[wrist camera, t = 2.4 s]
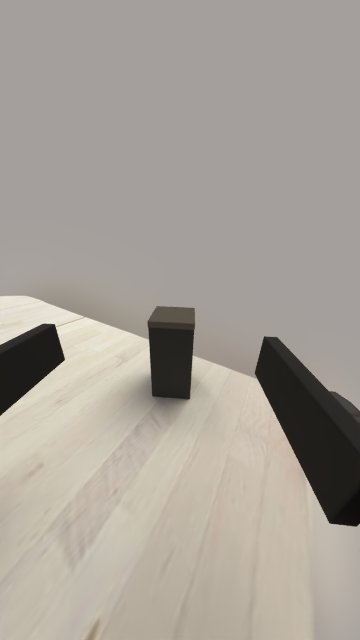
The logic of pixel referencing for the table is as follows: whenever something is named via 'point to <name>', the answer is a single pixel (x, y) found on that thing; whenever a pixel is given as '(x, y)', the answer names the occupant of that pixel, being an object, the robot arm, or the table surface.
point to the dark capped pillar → (171, 351)
